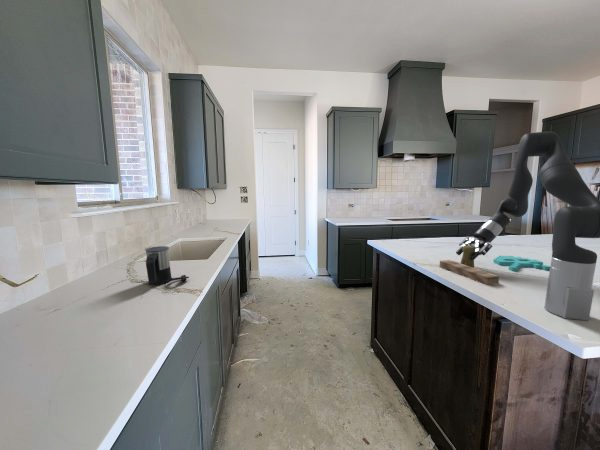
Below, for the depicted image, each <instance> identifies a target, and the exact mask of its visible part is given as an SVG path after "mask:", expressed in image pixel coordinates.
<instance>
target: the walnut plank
mask: <svg viewBox="0 0 600 450" xmlns="http://www.w3.org/2000/svg"><path fill="white" fill-rule="evenodd" d="M439 268H442V269H444V270H447V271H448V272H449V271H450V272H452V273H454V274H458V275H460V276H463V277H465V278H468V279H471V280H474V281H477V282H478V283H481V284H484V285H487V286H488V285H489V286H490V285H496V284H499V281H500V275H497V274H494V273H491V272H488V271H485V270H481V269H479V268H476V267H474V268H473V267H470V266H467V265H464V264H461V262H457V261H454V260H452V259H446V260H445V259H444V260H439Z"/></svg>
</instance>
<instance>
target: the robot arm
mask: <svg viewBox="0 0 600 450" xmlns="http://www.w3.org/2000/svg"><path fill="white" fill-rule="evenodd" d="M529 157H546V158H547V161H546V162H545V163H544V164H543V165H542V166H541V168H540V170H539V172H538V178H539V180H540V184H541V185H542V186H543V188H544V189H545V191H546V192H547V193H548V194H549V195H551V196H553V197H555V198H557V199H559V200H560V201H562V202H564V203H566V204H567V205H570V206H562V207H560V208H559V209H558V210H557V211H556V213H555V216H554V217H553V229H552V242H551V250H552V252H551V253H552V254H551V260H550V270H549V273H548V279H547V287H546V295H545V299H544V300H545V301H544V310H546V311H547V312H549V313H551V314H553V315H556V316H560V317H562V318H563V319H568V320H569V319H570V320H580V321H581V320H583V321H589V320H590V316H591V310H592V305H593V298H594V293H595V291H594V289H592V288H593V283H594V278H595V277H594V276H595V271H596V267H597V266H596V265H597V261H598V260H597V259H598V254H597V253H596V252H595V251H593V250H590V249H588V248H587V249H586V248H584V247H582V246H579V245H577V244H576V239H577V238H579V239H581V238H583V239H600V199H599V198H598V197H597V196H596V195H595V194H594V193H593V191H591V189H590V188H589V186H588V185H587V184H586V182H585V181H584V180H583V178H582V176H581V174H580V172H579V171H578V169H577V166H575V165H574V164H573V162H572V161H571V159H570V157H569V156H568V154H567V152H566V151H565V148H564V146H563V143H562V140H561V138H560V136H559V135H558V133H556V132H555V131H550V130H549V131H538V132H527V133H525V134H523V136H522V137H521V138H520V141H519V144H518V147H517V153H516V159H515V164H514V165H515V166H514V171H513V172H514V173H513V177H512V181H511V183H510V187H509V190H508V194H507V195H508V197H506V198H504V199H502V200H501V201H500V202H499V204H498V207H497V209H496V210H495V212H494V214H493V215H492V216H491V217H490V218H489V219H488V220H487V221H486V222H484V223H483V224H482V225H481V226H480V227H479V228H478V229H477V230H476V231H475V232H474V233H473V236H472V238H471V237H469V236H466V237H465V238H464V239H462V241H461V242H460V243H458V246H459V248H458V249H457V250H456V252H455V253H456V255H457V256H461V255H462V254H463V251H462V248H463V247H464V246H472V247H474V248H475V252H473V253H472V254H471V255H470V256H469V258H470V259H471V260H474V261H475V260H476V259H477V258H478V256H481V255H482V256H485V255H486V254H487V253H488V252H489V251H490V250H491V249H492V248H493V245H492V244H491V243H492V242H493V241H494V240H495V239H496V238H497V237H498V236H499V235H500V234H501V232H502V231H503V230H504V229H505V228H506V227H507V226H508V225H509V224H510V222H511V219H510V217H509V216H507V215H506V214H508V215H510V216H512V217H515V218H521V217H523V216H524V215H526V213H527V212H528V210H529V194H530V191H531V190H532V187H533V182H534V179H533V176H532V173H531V172H530V170H529V167H528V163H527V161H528V158H529Z"/></svg>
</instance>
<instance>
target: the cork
mask: <svg viewBox="0 0 600 450" xmlns="http://www.w3.org/2000/svg"><path fill="white" fill-rule="evenodd" d="M462 251H463V252H462V256H461V259H460V260H461V261H460V263H461V264H464V265H467V266H470V267H473V268H475V259H474V260H471V259H470V258H469V256H470V255H471V254H472V253H473V252H476V249H475V248H474V247H472V246H464V247H463V248H462Z"/></svg>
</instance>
